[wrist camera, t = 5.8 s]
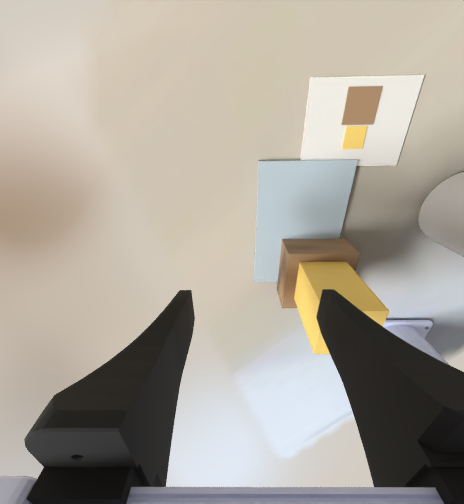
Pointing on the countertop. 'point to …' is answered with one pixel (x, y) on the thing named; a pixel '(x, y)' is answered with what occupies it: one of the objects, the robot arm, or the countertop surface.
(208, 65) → the countertop surface
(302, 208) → the plate
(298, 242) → the walnut base brick
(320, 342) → the ochre brick
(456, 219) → the beverage can
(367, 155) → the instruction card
